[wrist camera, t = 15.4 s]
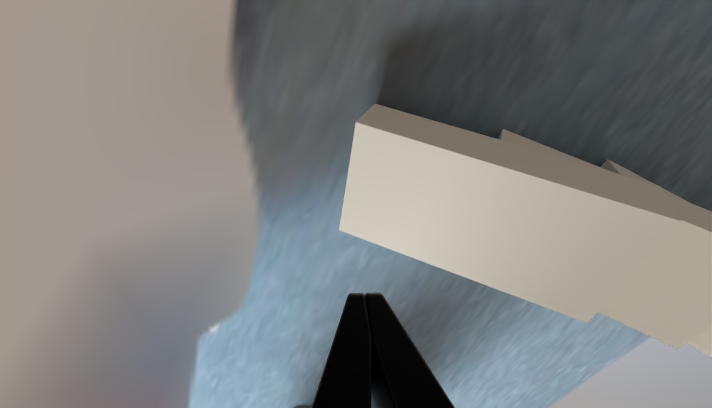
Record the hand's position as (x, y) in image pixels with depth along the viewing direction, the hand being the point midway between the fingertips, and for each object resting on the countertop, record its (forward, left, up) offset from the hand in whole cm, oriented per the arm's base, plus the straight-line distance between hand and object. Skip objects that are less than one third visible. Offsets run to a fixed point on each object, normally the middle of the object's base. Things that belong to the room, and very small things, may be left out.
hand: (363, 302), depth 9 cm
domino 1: (0, 0, -7) cm, 7 cm away
